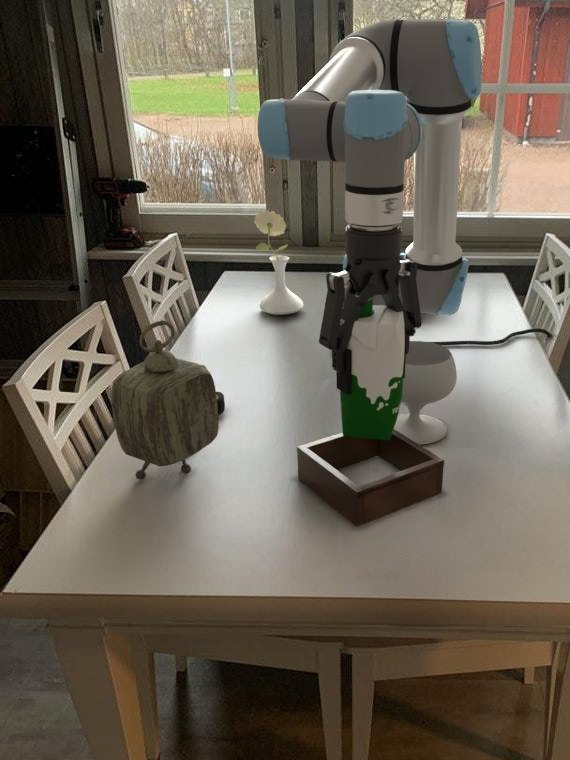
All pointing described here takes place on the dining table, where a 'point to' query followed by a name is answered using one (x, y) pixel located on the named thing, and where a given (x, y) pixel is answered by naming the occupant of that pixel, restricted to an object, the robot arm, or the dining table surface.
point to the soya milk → (374, 373)
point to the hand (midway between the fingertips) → (371, 382)
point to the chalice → (425, 390)
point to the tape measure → (220, 402)
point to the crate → (376, 497)
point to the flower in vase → (276, 267)
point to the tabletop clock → (164, 407)
